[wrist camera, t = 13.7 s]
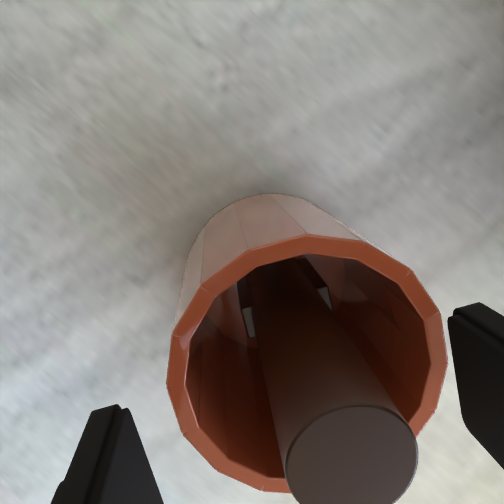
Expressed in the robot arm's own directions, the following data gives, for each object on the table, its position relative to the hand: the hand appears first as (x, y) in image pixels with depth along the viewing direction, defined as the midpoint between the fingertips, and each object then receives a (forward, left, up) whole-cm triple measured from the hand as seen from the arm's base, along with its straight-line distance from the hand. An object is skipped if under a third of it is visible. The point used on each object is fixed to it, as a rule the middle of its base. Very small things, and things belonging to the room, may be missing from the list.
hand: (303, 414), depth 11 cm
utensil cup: (+1, 0, -11) cm, 11 cm away
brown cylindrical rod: (+1, 0, -10) cm, 10 cm away
